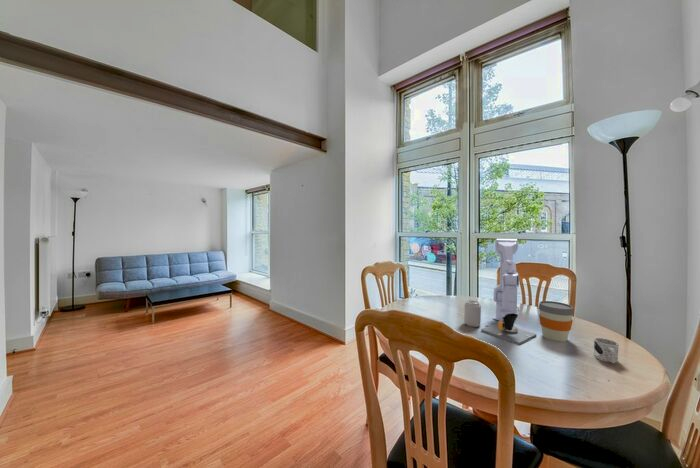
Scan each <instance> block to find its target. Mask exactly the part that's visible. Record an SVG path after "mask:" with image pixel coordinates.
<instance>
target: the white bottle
mask: <svg viewBox="0 0 700 468" xmlns="http://www.w3.org/2000/svg"><path fill="white" fill-rule="evenodd" d="M481 308H482V305H481V304H480V302H479V301H477V300H466V302H465V303H464V317H463V318H464V324H465V325H466V326H468V327H471V328H477V327H479V326H481V320H482V319H481V317H482V315H481V314H482V311H481V310H482V309H481Z"/></svg>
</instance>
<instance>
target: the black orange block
mask: <svg viewBox="0 0 700 468" xmlns="http://www.w3.org/2000/svg"><path fill="white" fill-rule="evenodd" d="M497 323H498V330H501V331H505V332H508V333H517V332H518V329H519V327H517V326H515V325H513V328H512V330H508V329H506V327H505V323H504V320H503V321H499V320H498V321H497Z"/></svg>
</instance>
